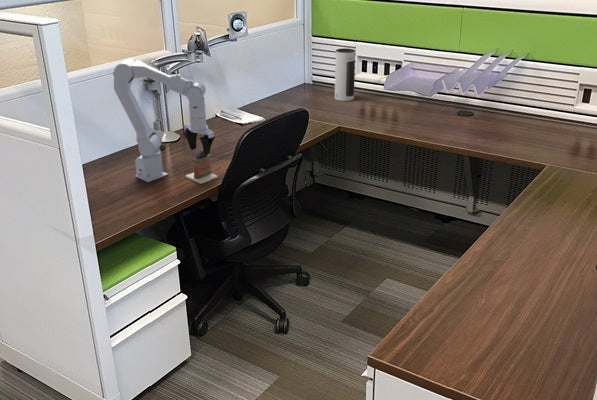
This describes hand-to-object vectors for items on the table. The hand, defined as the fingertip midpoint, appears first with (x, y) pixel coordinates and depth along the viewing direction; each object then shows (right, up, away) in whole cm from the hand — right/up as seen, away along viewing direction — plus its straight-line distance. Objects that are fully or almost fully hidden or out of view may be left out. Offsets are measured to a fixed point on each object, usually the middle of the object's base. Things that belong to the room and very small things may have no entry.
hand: (200, 151), depth 232 cm
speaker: (+61, +36, +101) cm, 123 cm away
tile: (0, -9, +4) cm, 10 cm away
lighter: (0, -9, +4) cm, 10 cm away
